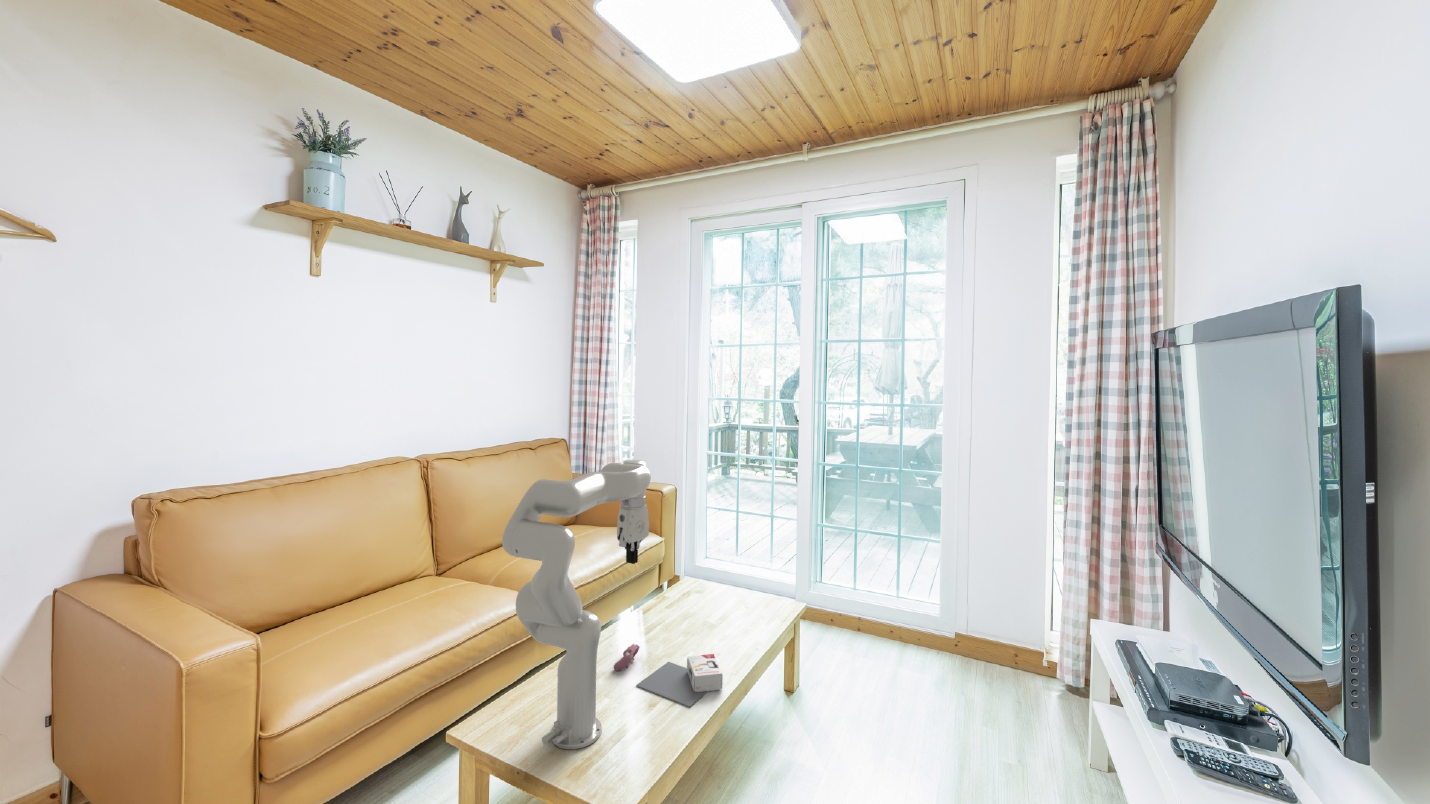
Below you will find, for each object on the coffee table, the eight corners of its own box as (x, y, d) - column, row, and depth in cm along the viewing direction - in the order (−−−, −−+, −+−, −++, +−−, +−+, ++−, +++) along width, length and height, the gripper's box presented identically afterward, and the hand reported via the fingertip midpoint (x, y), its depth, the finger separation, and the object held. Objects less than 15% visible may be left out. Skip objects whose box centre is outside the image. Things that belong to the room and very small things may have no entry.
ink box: (714, 653, 172) (723, 672, 161) (713, 669, 172) (723, 689, 161) (686, 655, 170) (694, 675, 158) (686, 672, 170) (693, 692, 159)
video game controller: (623, 677, 169) (634, 659, 168) (611, 669, 170) (621, 651, 169) (634, 661, 179) (644, 644, 178) (622, 654, 180) (632, 636, 179)
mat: (690, 708, 152) (690, 706, 152) (636, 686, 162) (636, 685, 162) (719, 681, 166) (719, 680, 166) (668, 662, 176) (668, 661, 176)
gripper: (626, 508, 156) (625, 572, 157) (658, 499, 169) (657, 558, 170) (606, 504, 160) (605, 567, 161) (639, 495, 173) (637, 553, 174)
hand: (631, 562), depth 165 cm, fingers closed
